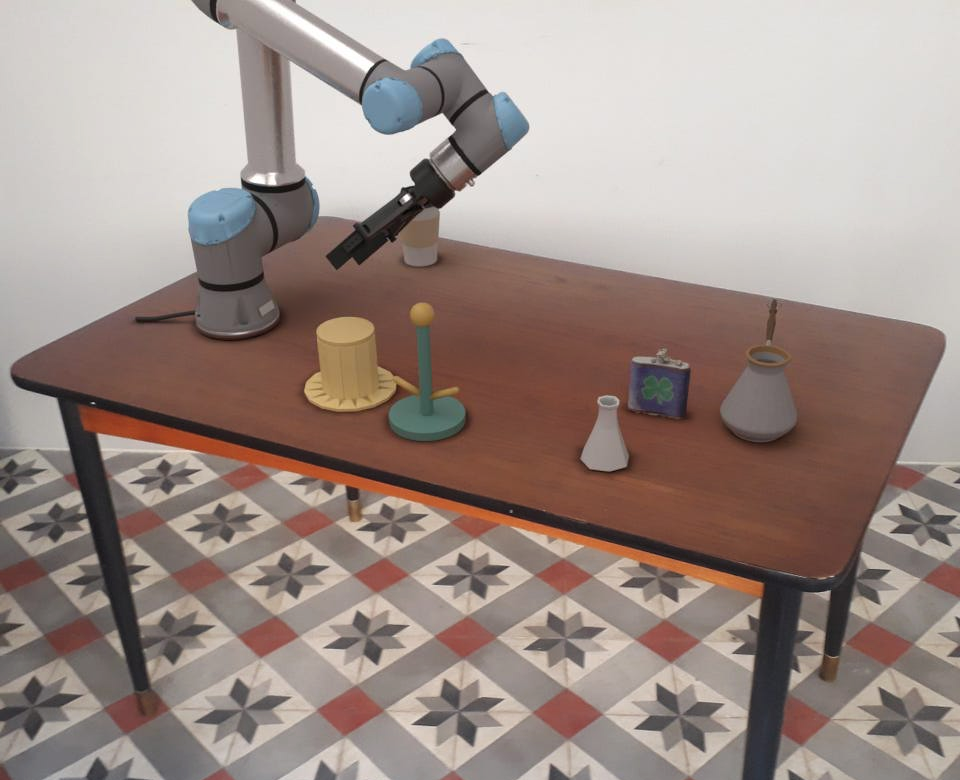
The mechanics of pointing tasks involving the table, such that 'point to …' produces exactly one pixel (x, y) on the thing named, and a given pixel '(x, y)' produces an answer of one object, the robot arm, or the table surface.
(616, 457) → the flask
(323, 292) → the table surface
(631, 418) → the table surface
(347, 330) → the hat
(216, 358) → the table surface
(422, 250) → the coffee cup
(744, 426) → the coffee pot
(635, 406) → the flask
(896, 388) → the table surface
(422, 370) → the hat stand
